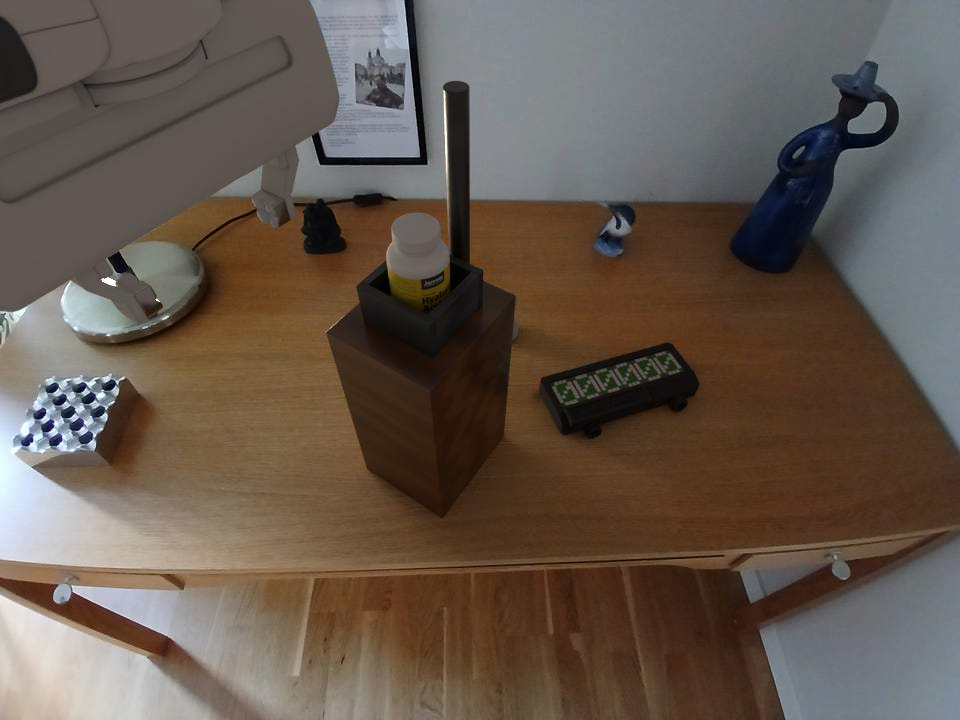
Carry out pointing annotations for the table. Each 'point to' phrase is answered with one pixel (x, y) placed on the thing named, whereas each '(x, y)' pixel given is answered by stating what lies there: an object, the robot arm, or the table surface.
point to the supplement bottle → (418, 262)
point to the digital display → (618, 388)
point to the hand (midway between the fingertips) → (216, 262)
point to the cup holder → (430, 356)
